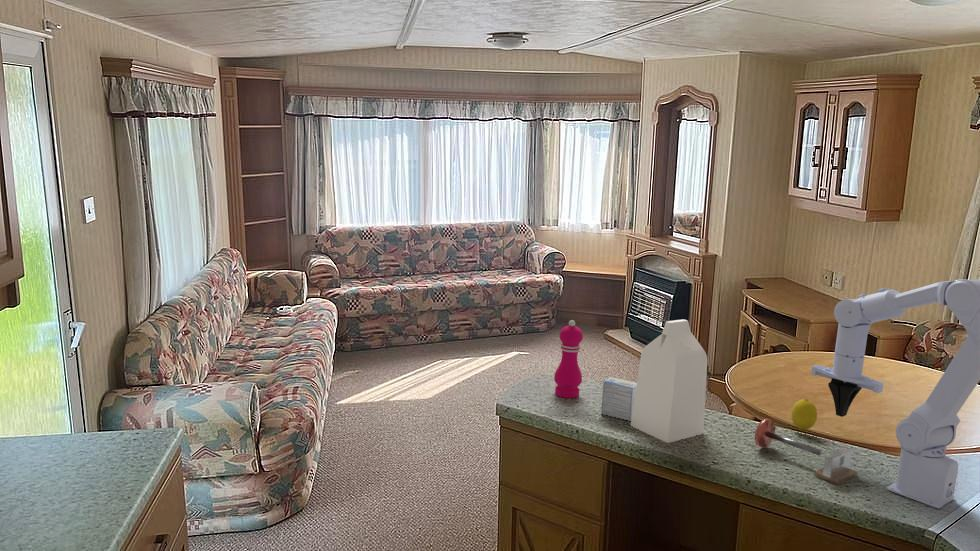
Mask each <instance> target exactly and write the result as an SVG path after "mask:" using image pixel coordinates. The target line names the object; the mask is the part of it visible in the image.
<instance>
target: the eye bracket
mask: <svg viewBox="0 0 980 551" xmlns="http://www.w3.org/2000/svg"><path fill="white" fill-rule="evenodd" d="M852 454H853V449H852V448H848V447H846V446H845V447H842V448H840V449H838V450H835V451H833V452H831V453H828V454H826V455H825V456H824V461H823V467H822V468H820V469H818V470H816V471H814V474H813V476H814V477H816V478H820V479H822V480H825V481H827V482H831V483H833V484H835V485H837V486H840V485H841V484H843V483H846V482H847V481H849V480H851V479H853V478H856V477H857V476H858V473H859V472H858V471H857V470H854V469H851V461H852Z"/></svg>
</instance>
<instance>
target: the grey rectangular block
mask: <svg viewBox="0 0 980 551" xmlns="http://www.w3.org/2000/svg"><path fill="white" fill-rule="evenodd" d="M602 383H603V384H602V392H601V393H602V396H601V406H600V407H601V408H600V415H602V414H603V416H606V415H608V416H607V417H610V416H612V418H614V417H616V418H615V419H618V418H620V420H622V419H624V421H626V420H628V421H627V422H630V421H631V419H632V412H633V406H634V399H635V392H636V386H637V381H636V382H635V381H631V380H628V379H627V380H626V379H622V378H616V377H612V376H610V377H608V378H606V379H605V380H603V382H602Z"/></svg>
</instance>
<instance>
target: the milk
mask: <svg viewBox="0 0 980 551" xmlns="http://www.w3.org/2000/svg"><path fill="white" fill-rule="evenodd" d="M707 373H708V355H707V353H706V351H705V348H703V347H702V345H701V343H700V342H699V341H698V340H697V338H696V337H695V335H694V334H693V333H692V332H691V327H690V323H689V320H687V319H675V320H667V321H665V324H664V327H663V329H662V333H661V334H659V335H658V336H657V337H656V338H654V339H653V340H652V341H650V342H649V343H648V344H646V345H645V346H644V348H642V351H641V354H640V358H639V366H638V374H637V380H636V383H637V386H636V392H635V399H634V406H633V412H632V419H631V422H630V425H631V426H630V427H632V426H633V427H632V428H634V427H635V429H636V428H637V429H636V430H638V429H639V430H638V431H641V432H643V433H645V434H647V435H650V436H651V437H653V436H654V438H656V439H658V440H660V441H662V442H664V443H667V444H670V443H673V442H677V441H682V440H685V439H688V438H693V437H696V435H697V436H700V435H703V434H704V432H705V430H704V428H705V414H706V413H705V412H706V393H707V376H708V375H707ZM681 439H682V440H681Z"/></svg>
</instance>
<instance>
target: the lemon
mask: <svg viewBox="0 0 980 551" xmlns="http://www.w3.org/2000/svg"><path fill="white" fill-rule="evenodd" d="M817 418H818V411H817V408H816V405H815V404H814V403H813V402H812V401H811V400H809V399H808V398H803V399H799V400H797V401H796V402H795V403H794V405H793V407H792V409H791V422H792V423H793V425H794V427H796V428H798V429H799V430H800V432H801V431H802V432H804V431H805V430H809V429H811V428H813V427H814V425H815V424H816V423H817Z"/></svg>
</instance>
